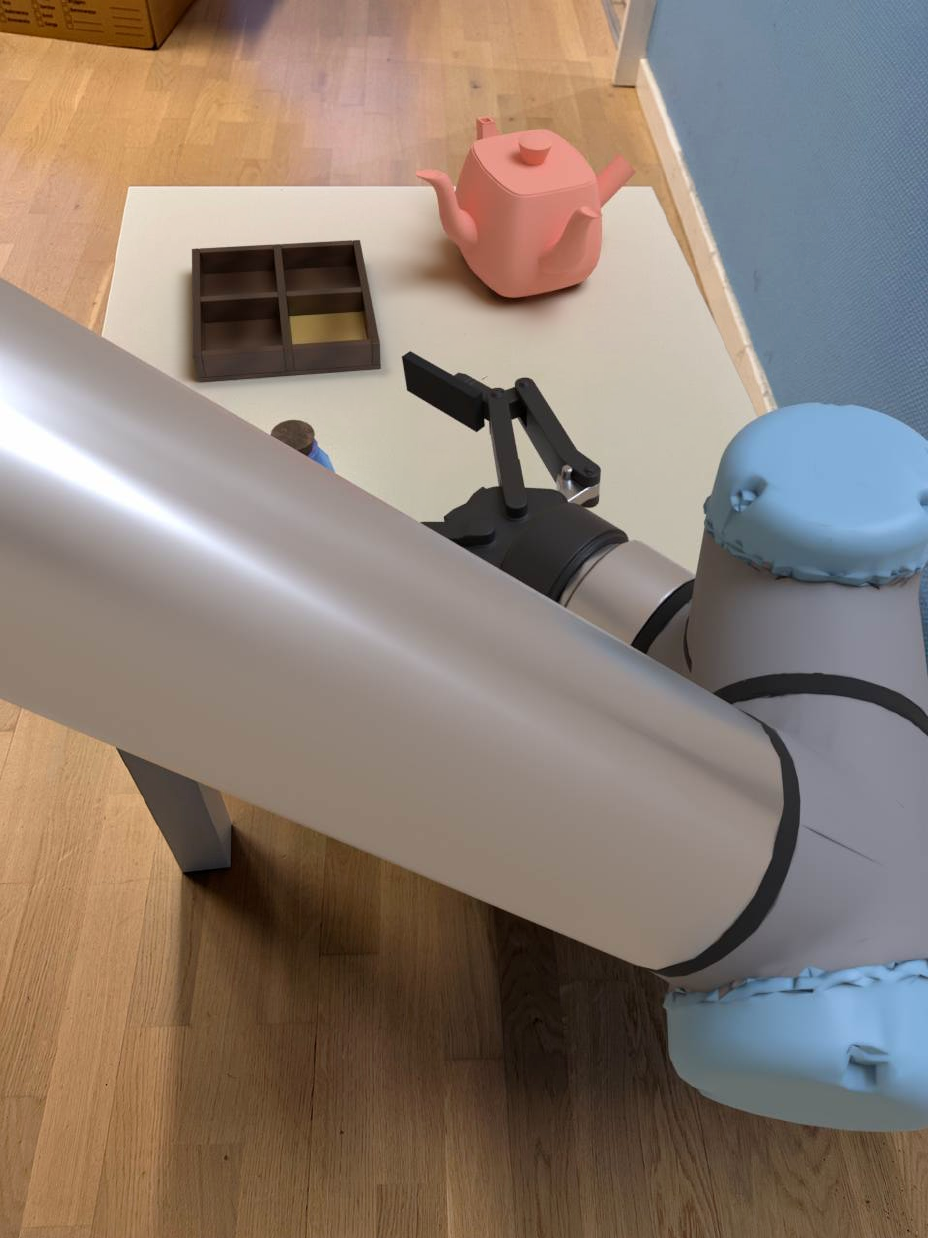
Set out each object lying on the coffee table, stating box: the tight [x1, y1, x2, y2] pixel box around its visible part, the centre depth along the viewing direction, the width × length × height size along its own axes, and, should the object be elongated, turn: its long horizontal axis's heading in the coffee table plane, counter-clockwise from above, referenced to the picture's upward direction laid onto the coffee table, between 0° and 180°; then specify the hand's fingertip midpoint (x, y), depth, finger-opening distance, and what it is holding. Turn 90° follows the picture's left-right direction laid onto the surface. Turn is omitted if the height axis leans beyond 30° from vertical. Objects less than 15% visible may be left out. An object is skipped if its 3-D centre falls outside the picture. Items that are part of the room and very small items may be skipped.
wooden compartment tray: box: [191, 239, 382, 383], centre depth 90 cm, size 17×17×3 cm
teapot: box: [414, 115, 637, 299], centre depth 93 cm, size 18×18×14 cm
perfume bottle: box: [269, 419, 336, 473], centre depth 69 cm, size 6×6×12 cm
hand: (329, 423), depth 56 cm, fingers open, 13 cm apart
